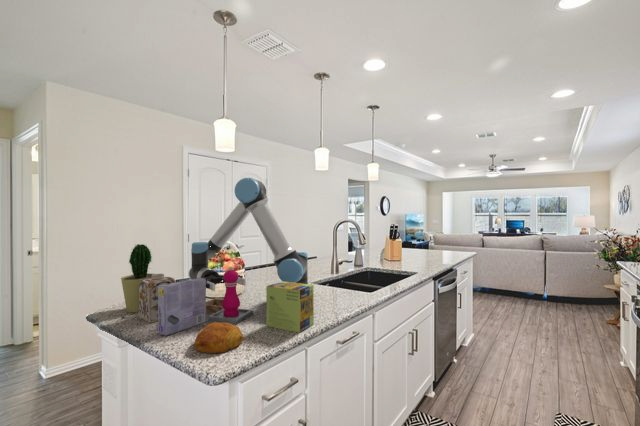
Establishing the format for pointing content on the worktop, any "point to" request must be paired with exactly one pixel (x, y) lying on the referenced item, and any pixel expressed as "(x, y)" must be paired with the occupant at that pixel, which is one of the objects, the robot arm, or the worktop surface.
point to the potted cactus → (136, 276)
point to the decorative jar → (151, 296)
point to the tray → (232, 320)
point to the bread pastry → (218, 338)
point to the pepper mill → (230, 294)
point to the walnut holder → (211, 305)
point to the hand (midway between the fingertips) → (230, 284)
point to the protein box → (290, 306)
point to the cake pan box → (181, 305)
